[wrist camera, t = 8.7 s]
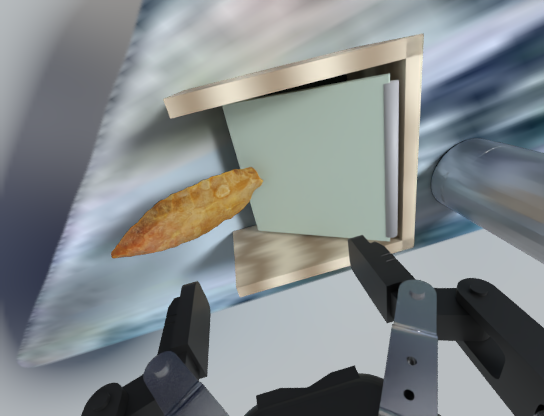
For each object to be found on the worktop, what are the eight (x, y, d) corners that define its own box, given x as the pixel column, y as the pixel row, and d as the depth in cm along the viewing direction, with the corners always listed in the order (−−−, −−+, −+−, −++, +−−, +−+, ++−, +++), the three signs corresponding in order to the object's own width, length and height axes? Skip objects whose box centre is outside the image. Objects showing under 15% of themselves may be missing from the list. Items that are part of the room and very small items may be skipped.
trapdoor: (399, 71, 18) (398, 73, 17) (397, 234, 25) (397, 242, 24) (228, 102, 25) (221, 105, 24) (262, 225, 32) (258, 231, 31)
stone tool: (275, 203, 26) (129, 282, 24) (267, 195, 28) (132, 268, 26) (254, 156, 24) (91, 239, 21) (247, 151, 26) (97, 227, 23)
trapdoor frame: (356, 46, 26) (423, 33, 17) (365, 203, 35) (413, 247, 26) (183, 90, 25) (163, 99, 17) (235, 239, 34) (240, 297, 25)
